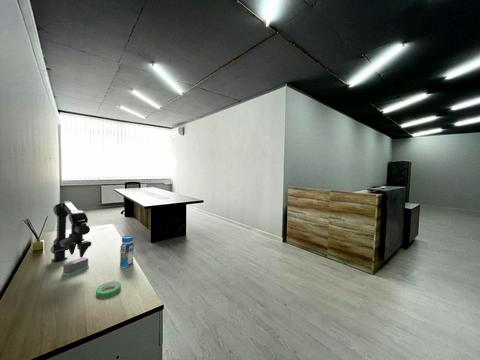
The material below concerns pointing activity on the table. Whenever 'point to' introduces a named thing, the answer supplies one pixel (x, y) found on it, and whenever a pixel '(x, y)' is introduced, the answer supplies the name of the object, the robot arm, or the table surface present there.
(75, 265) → the block
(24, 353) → the table surface
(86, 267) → the green peg board
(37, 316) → the table surface
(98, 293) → the tape roll
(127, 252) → the beverage bottle
